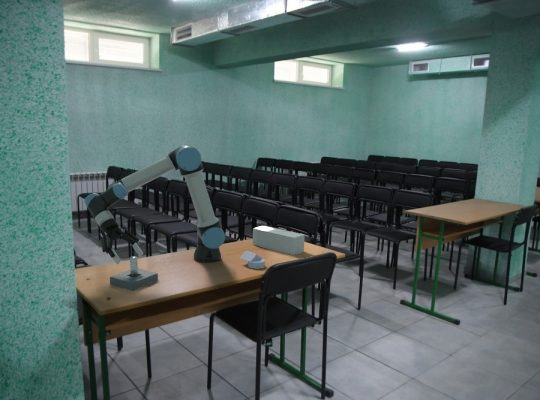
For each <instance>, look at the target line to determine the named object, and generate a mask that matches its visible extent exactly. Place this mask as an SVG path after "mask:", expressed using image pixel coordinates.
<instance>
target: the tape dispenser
mask: <svg viewBox="0 0 540 400" xmlns="http://www.w3.org/2000/svg"><path fill="white" fill-rule="evenodd" d="M239 259H240V260H244V261H246V262H247V267H248V268H250V269H253V268H254V269H253V270H255V269H256V270H257V269H259V270H260V268H261V269H264V268H265V266H266V259H264V258H262V257H261V256H260V255H258V254H257V253H254V252H253V251H248V250H244V252H243V253H242V254H241V256H239ZM263 267H264V268H263Z"/></svg>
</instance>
